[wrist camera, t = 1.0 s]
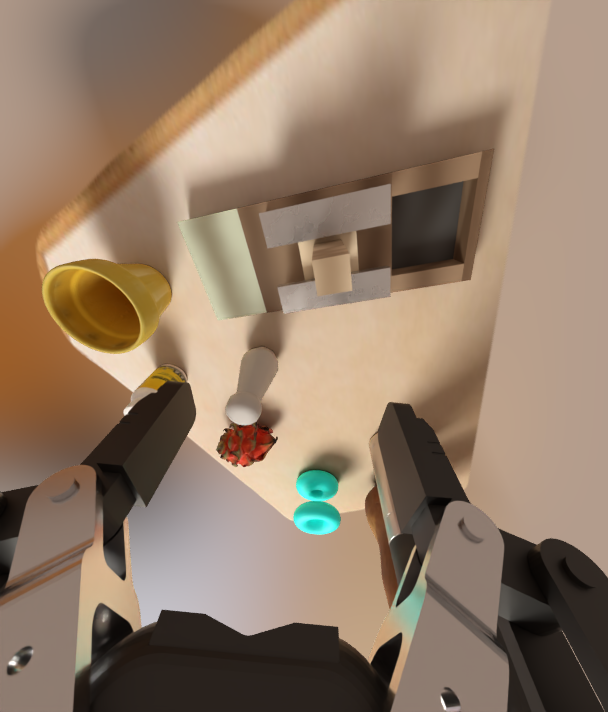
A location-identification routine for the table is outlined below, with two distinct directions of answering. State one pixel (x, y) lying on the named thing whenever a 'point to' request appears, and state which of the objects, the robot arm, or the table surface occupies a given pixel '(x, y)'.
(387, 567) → the butternut squash
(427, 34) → the table surface
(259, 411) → the salt shaker
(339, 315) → the table surface
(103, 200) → the table surface
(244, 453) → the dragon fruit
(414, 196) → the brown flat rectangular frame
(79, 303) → the plant pot
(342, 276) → the slider block
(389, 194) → the grey slotted block
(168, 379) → the supplement bottle
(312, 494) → the donuts
